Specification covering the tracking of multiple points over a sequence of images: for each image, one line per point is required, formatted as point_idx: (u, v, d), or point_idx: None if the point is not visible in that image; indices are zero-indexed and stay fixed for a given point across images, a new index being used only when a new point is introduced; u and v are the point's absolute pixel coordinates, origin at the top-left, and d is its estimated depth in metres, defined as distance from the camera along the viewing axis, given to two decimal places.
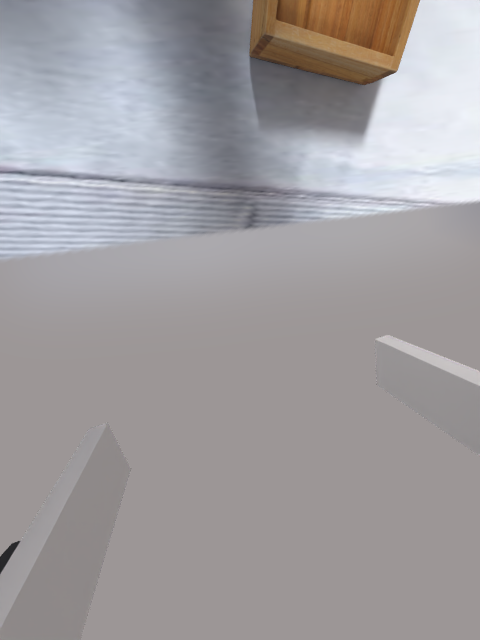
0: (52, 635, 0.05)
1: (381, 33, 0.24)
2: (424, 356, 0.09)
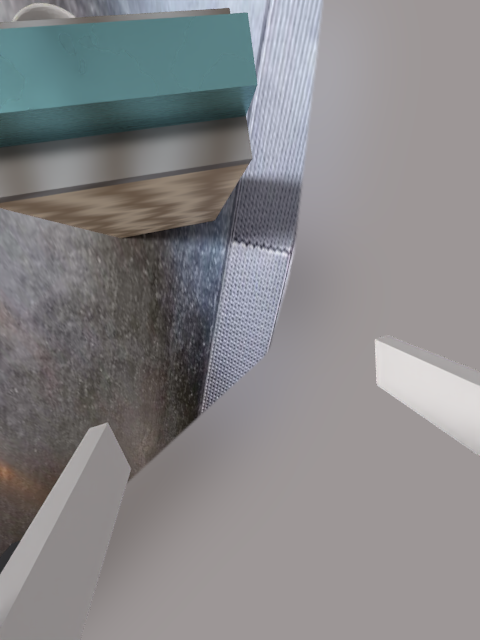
0: (52, 635, 0.05)
1: None
2: (424, 356, 0.09)
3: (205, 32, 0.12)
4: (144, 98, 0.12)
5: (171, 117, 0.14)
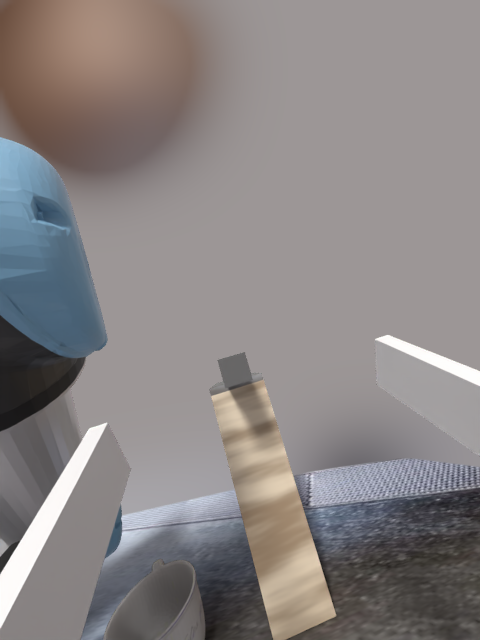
0: (52, 635, 0.05)
1: None
2: (424, 356, 0.09)
3: None
4: None
5: None
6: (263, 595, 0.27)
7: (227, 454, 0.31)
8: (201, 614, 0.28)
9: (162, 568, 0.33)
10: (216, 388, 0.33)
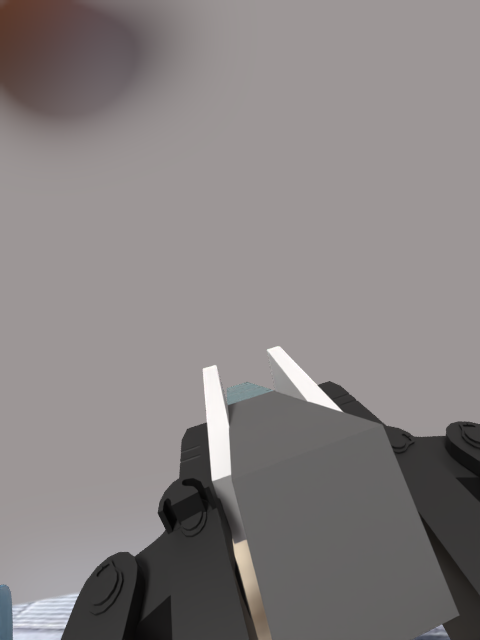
0: None
1: None
2: (287, 366, 0.11)
3: (231, 387, 0.29)
4: None
5: None
6: None
7: None
8: None
9: None
10: None
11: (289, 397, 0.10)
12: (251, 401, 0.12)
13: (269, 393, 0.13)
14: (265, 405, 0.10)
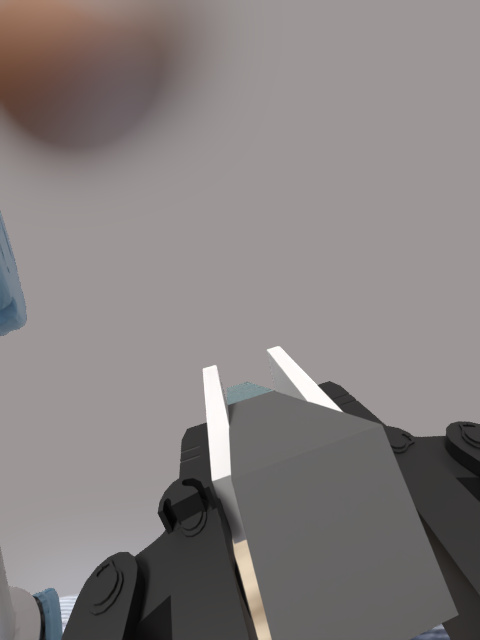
0: None
1: None
2: (287, 366, 0.11)
3: (231, 387, 0.29)
4: None
5: None
6: None
7: None
8: None
9: None
10: None
11: (289, 397, 0.10)
12: (251, 401, 0.12)
13: (269, 393, 0.13)
14: (265, 405, 0.10)
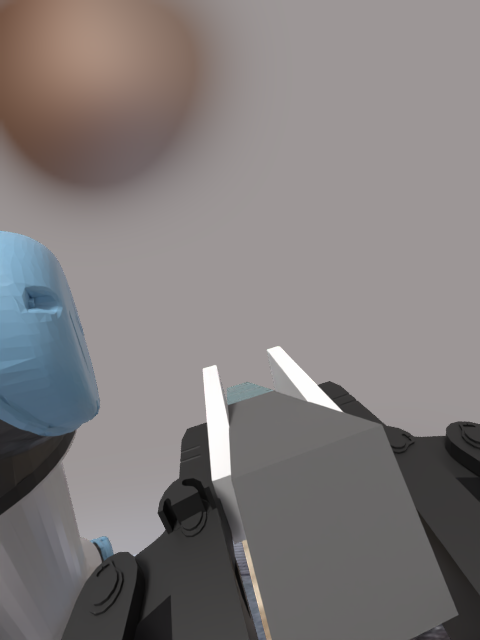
0: None
1: None
2: (287, 366, 0.11)
3: (231, 387, 0.29)
4: None
5: None
6: None
7: (244, 544, 0.26)
8: None
9: None
10: None
11: (289, 397, 0.10)
12: (251, 401, 0.12)
13: (269, 393, 0.13)
14: (265, 405, 0.10)
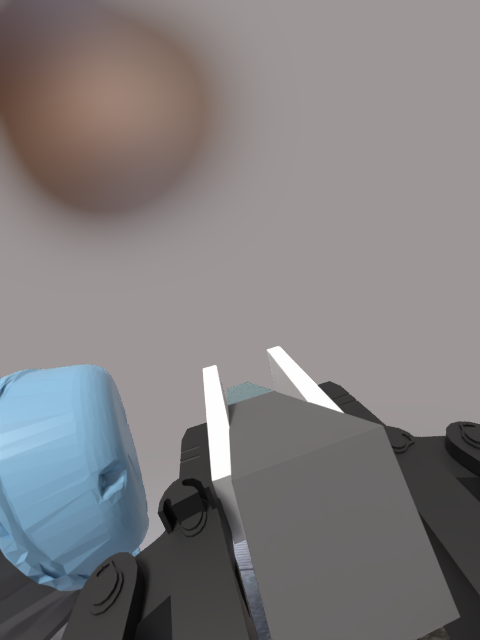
0: None
1: None
2: (287, 366, 0.11)
3: (231, 388, 0.29)
4: None
5: None
6: None
7: None
8: None
9: None
10: None
11: (289, 397, 0.10)
12: (251, 401, 0.12)
13: (269, 393, 0.13)
14: (265, 405, 0.10)
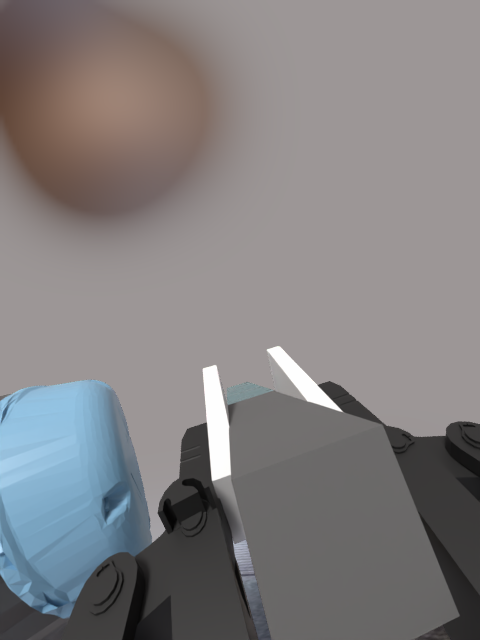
0: None
1: None
2: (287, 366, 0.11)
3: (231, 387, 0.29)
4: None
5: None
6: None
7: None
8: None
9: None
10: None
11: (289, 397, 0.10)
12: (251, 401, 0.12)
13: (269, 393, 0.13)
14: (265, 405, 0.10)
